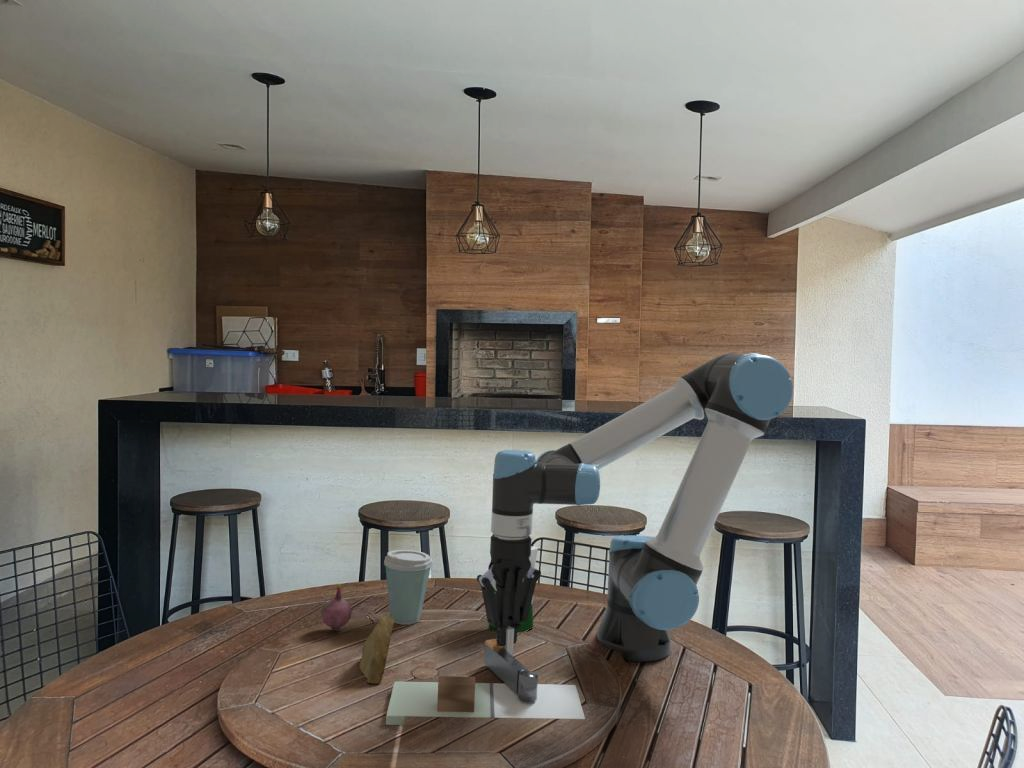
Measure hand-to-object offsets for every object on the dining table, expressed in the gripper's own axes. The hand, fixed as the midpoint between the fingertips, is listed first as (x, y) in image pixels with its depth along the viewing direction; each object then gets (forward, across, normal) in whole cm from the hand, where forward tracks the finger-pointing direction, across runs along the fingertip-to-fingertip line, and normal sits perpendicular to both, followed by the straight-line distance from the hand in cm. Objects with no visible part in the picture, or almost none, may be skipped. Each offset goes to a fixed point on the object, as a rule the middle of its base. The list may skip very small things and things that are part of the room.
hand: (505, 661), depth 137 cm
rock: (+3, -21, +14) cm, 25 cm away
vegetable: (+3, -20, +35) cm, 40 cm away
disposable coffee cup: (+3, -4, +34) cm, 35 cm away
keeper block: (+2, -15, -8) cm, 17 cm away
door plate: (+3, -9, -8) cm, 13 cm away
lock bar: (+1, -2, -5) cm, 6 cm away
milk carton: (+3, +14, +19) cm, 24 cm away
